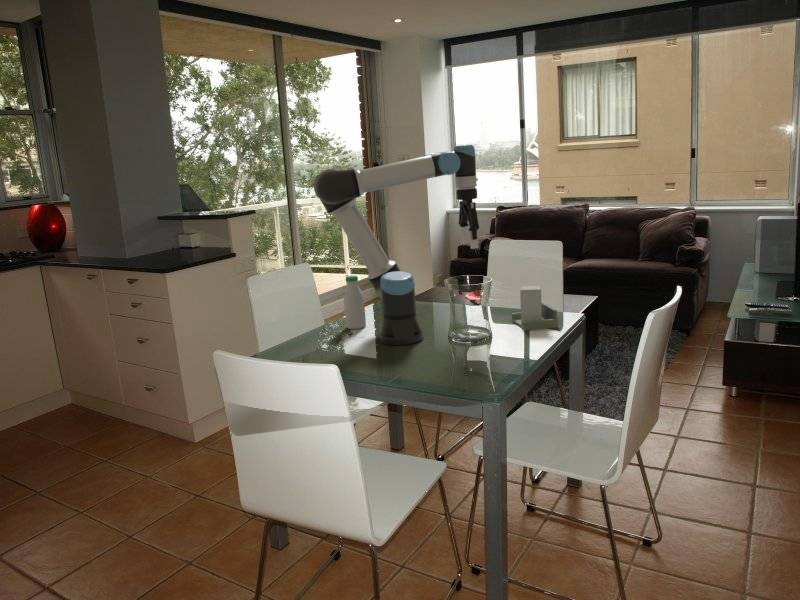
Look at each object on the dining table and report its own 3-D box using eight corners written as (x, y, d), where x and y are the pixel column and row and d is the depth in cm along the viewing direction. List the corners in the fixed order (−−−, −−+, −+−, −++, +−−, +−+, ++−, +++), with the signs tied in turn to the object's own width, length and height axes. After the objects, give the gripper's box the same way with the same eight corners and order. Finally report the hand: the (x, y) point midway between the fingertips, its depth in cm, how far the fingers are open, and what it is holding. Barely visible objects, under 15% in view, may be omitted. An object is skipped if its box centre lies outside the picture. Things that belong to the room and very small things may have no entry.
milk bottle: (365, 328, 248) (360, 277, 244) (345, 330, 248) (340, 279, 244) (366, 323, 256) (362, 273, 251) (347, 325, 256) (342, 275, 252)
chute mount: (525, 331, 228) (524, 314, 227) (511, 321, 243) (511, 305, 241) (558, 327, 230) (557, 310, 228) (542, 317, 244) (542, 302, 243)
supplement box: (541, 324, 232) (540, 289, 229) (520, 324, 233) (519, 290, 231) (542, 318, 239) (541, 285, 236) (521, 319, 240) (520, 285, 238)
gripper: (486, 188, 225) (488, 249, 229) (467, 186, 249) (470, 241, 254) (465, 190, 224) (468, 251, 228) (448, 188, 248) (452, 243, 253)
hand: (469, 246), depth 241 cm, fingers open, 13 cm apart
